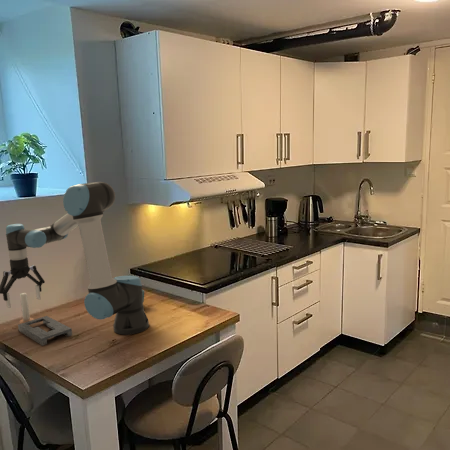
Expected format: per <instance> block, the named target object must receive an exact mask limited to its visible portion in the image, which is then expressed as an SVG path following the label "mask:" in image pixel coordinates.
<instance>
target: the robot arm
mask: <svg viewBox="0 0 450 450" xmlns="http://www.w3.org/2000/svg"><path fill="white" fill-rule="evenodd" d="M115 201H116V192H115V190H114V188H113V187H112V185H110V184H108V183H107V182H104V181H95V182H85V183H78V184H73V185H70V186H69V187H68V188H67V189H66V191H65V192H64V195H63V198H62V203H63V208H64V210H65V212H66V213H65V214H64V215H63V216H62V217H60V218H59V219H57V220H56V221H55V222H53V223H52V224H50V225H47V226H43V227H38V228H34V229H25V226H24V224H22V223H14V224H13V223H12V224H8V225H7V226H6V227H5V232H6V233H5V236H6V243H7V251H8V258H9V266H10V267H9V268H10V270H8V271H7V270H4V271H3V272H2V274H3V275H2V280H1V282H0V295H1V294H2V298H3V300H4V301H5V303H6V307H7V308H9V309H10V308H11V305H12V304H11V298H10V293H9V291H10V290H11V288H12V287H13V284H14V283H15V281H17V280H20V279H25V278H28V279H29V280H30V281H32V282H33V283H35V285H34V286H35V288H34V289H35V297H36V299H37V300H41V292H42V285H43V284H45V280H44V278H43V277H42V275H41V274H40V272H39V271H38V270H37V266H36V265H34V264H32V265H31V266H29V259H28V258H29V257H28V251H27V250H28V249H27V248H33V249H36V248H42V247H43V246H44V245H47V244H49V243H54V242H59V241H61V240H65V239H67V238H68V235H69V233H71V232H72V231H73V230H75V229H76V228H78V230H79V235H80V238H81V242H82V243H81V244H82V248H83V253H84V256H85V262H86V266H87V268H86V269H87V272H88V277H89V284H88V285H87V291H88V294H86V296H85V297H84V300H83V301H84V303H83V304H84V307H85V310H86V311H87V313H88V314H89V315H90V316H91V317H93V318H94V319H96V320H105V319H108V318H110V317H112V316H113V315H115V318H114V320H113V325H112V326H113V332H114V333H116V334H119V335H134V334H138V333H142V332H144V331H146V330H147V329H148V328H149V327H150V323H149V322H150V321H149V319H148V317H147V314H146V312H145V310H144V302H143V296H142V290H143V285H142V280H141V278H140V277H139V276H136V275H119V276H115V277H113V275H112V269H111V264H110V260H109V255H108V250H107V245H106V239H105V236H104V231H103V225H102V221H101V220H102V218H103V216H104V212H105V211H107V210H108V209H110V208H111V207H112V206H113V205H114V203H115ZM30 270H31V271H32V272H33V274H34V275H35V276H36V278H37V279H36V278H35V277H34V276H33V275H31V274H30V273H29V272H30ZM10 275H11V277H10ZM9 277H10V279H9ZM8 279H9V280H8ZM7 281H8V282H7Z"/></svg>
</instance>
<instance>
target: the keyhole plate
mask: <svg viewBox="0 0 450 450" xmlns="http://www.w3.org/2000/svg"><path fill="white" fill-rule="evenodd" d="M40 322H42V324H43V325H45V326H46V327H47V328H49V329H51V330H48V331H46V330H44V329H43V328H41V327H40V326H34V327H33V326H31V325H34V324H37V323H40ZM17 326H18V332H20V333H21V334H23V335H25V336H26V337H28V338H30V339H31V340H33V341H34V342H36V343H37V344H39V345H40V346H42V347H43V346H46V345H48V340H49V339H51V338H54V337H57V336H60V335H64V336H66V337H71V336H73V331H72V327H69V326H67V325H65V324H64V323H62V322H60V321H58V320H55V319H53V318H52V317H50V316H48V315H45V316H42V317H38V318H35V319H34V320H31V321H28V322H25V323H21V324H20V323H19V324H17Z"/></svg>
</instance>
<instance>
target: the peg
mask: <svg viewBox="0 0 450 450" xmlns="http://www.w3.org/2000/svg"><path fill="white" fill-rule="evenodd" d="M19 298H20V306H21V313H22V315H21V316H22V319H20V320H19V324H21V323H25V322H28V321H31V320H35V319H34V318H33V317H31V316H30V314H31V313H30V308H29V299H28V294H27V292H22V293H19Z"/></svg>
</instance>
